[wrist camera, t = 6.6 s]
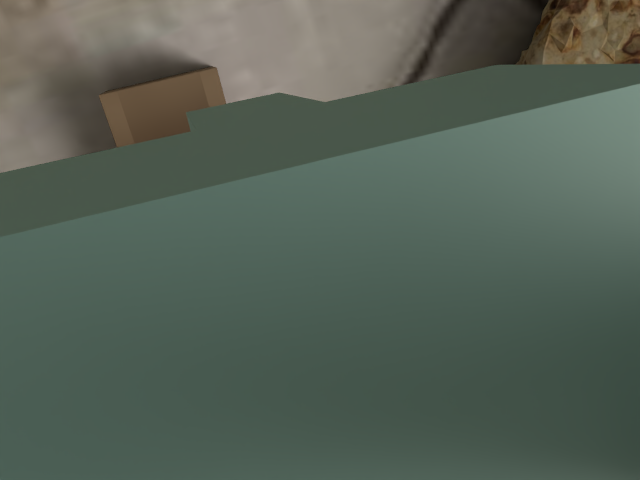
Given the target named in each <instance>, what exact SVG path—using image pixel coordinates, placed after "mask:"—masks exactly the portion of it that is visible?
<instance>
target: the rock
mask: <svg viewBox="0 0 640 480" xmlns="http://www.w3.org/2000/svg"><path fill="white" fill-rule="evenodd" d="M546 64H640V0H549V1H548V3H547V5H546V7H545V8H544V10H543V12H542V17H541V22H540V24H539V25H538V26H537V28H536V31H535V33H534V36H533V39H532V43H531V44H530V46H529V48H528V50H524V51H522V54H521V58H520V60H519V61H518V62H517V63H516V64H515V65H546Z"/></svg>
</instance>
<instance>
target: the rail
mask: <svg viewBox="0 0 640 480" xmlns="http://www.w3.org/2000/svg"><path fill="white" fill-rule="evenodd" d="M99 98H100V101H101V103H102V106H103V109H104V112H105V115H106V118H107V121H108V123H109V126H110V129H111V132H112V135H113V138H114V140H115V143H116V146H117V148H118V147H122V146H127V145H131V144H136V143H141V142H145V141H150V140H154V139H159V138H164V137H168V136H173V135H177V134H182V133H186V132H191V130H190V127H189V123H188V119H187V115H186V112H190V111H195V110H199V109H204V108H209V107H214V106H218V105H223V104H226V101H225V98H224V94H223V90H222V86H221V83H220V79H219V75H218V72H217V68H216V67H212V66H211V67H207V68H203V69H199V70H194V71H190V72H186V73H182V74H177V75H173V76H169V77H165V78H160V79H156V80H152V81H148V82H143V83H139V84H135V85H130V86H126V87H122V88H118V89H113V90H109V91H106V92H104V93H102V94H100V95H99Z"/></svg>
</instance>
